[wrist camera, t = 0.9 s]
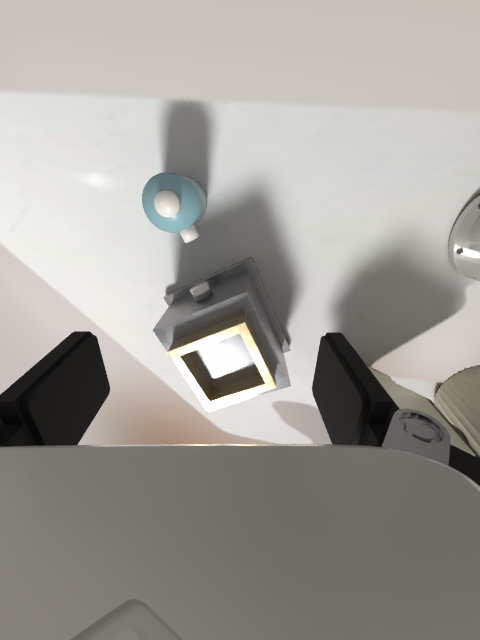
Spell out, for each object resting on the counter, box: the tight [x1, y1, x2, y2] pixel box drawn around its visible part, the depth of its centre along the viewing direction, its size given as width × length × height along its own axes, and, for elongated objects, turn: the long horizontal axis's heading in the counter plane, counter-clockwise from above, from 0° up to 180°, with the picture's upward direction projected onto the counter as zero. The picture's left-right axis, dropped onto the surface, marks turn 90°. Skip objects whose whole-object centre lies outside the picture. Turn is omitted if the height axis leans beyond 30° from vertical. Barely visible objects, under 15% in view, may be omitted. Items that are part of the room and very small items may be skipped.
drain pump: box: [142, 173, 207, 243], centre depth 30 cm, size 6×7×9 cm
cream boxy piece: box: [367, 366, 480, 459], centre depth 37 cm, size 18×8×18 cm, turn 63°
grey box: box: [153, 258, 291, 412], centre depth 35 cm, size 14×17×12 cm
